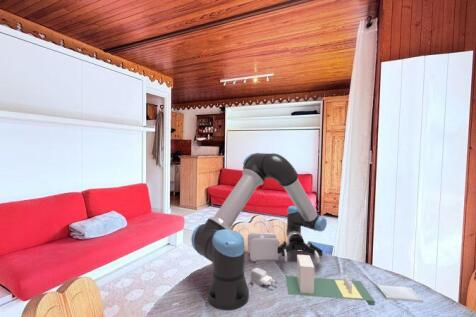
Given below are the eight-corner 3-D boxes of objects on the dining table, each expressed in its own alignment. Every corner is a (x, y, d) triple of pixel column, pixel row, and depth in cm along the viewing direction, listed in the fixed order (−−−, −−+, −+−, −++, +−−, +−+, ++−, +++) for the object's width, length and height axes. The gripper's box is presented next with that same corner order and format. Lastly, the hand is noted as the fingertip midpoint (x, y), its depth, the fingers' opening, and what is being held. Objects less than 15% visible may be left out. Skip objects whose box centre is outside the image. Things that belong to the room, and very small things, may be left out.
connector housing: (300, 292, 88) (300, 266, 87) (296, 278, 98) (297, 254, 97) (313, 293, 87) (314, 267, 87) (309, 279, 97) (309, 255, 97)
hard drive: (386, 296, 86) (423, 299, 85) (376, 284, 95) (409, 286, 93) (386, 301, 86) (423, 304, 85) (375, 288, 95) (409, 290, 93)
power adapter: (279, 290, 92) (279, 275, 92) (271, 295, 88) (271, 280, 88) (257, 279, 100) (257, 265, 99) (249, 284, 96) (249, 269, 96)
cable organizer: (248, 262, 114) (248, 239, 114) (247, 253, 125) (247, 231, 125) (279, 263, 115) (279, 239, 114) (275, 253, 125) (275, 232, 125)
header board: (288, 298, 87) (288, 283, 87) (285, 279, 100) (285, 266, 100) (374, 305, 83) (374, 289, 83) (360, 284, 96) (360, 271, 96)
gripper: (320, 249, 121) (332, 269, 100) (271, 246, 124) (272, 266, 103) (321, 234, 121) (332, 252, 99) (271, 232, 123) (272, 249, 102)
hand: (302, 259), depth 101 cm, fingers open, 13 cm apart
